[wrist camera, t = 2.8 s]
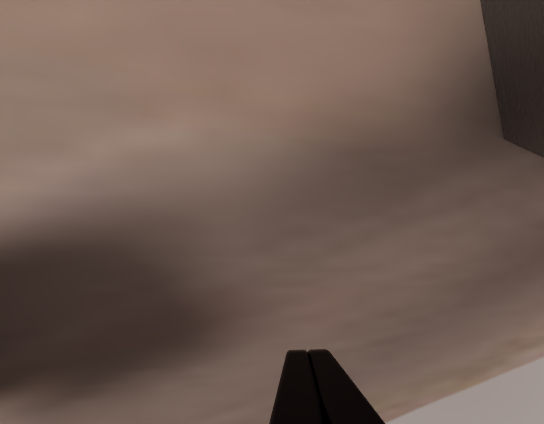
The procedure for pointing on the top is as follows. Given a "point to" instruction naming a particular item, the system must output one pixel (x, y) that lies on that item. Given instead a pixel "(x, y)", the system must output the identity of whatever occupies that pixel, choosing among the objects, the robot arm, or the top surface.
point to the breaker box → (518, 68)
